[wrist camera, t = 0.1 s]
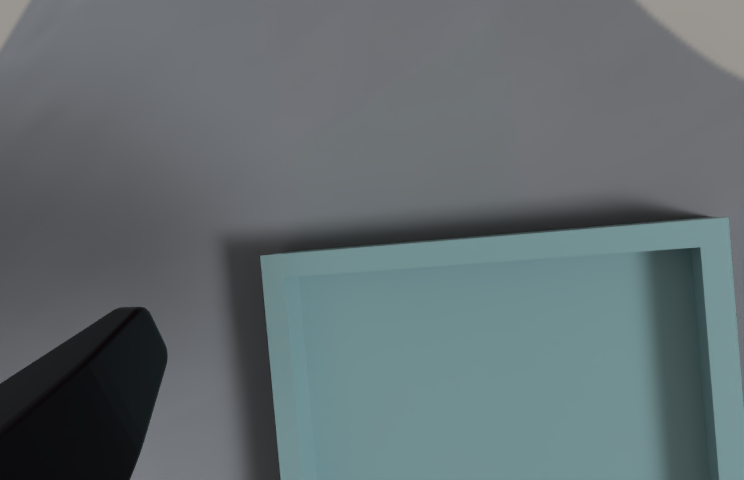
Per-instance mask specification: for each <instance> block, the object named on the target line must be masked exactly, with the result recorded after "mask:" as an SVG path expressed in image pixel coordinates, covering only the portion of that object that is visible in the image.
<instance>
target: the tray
mask: <svg viewBox="0 0 744 480" xmlns="http://www.w3.org/2000/svg"><path fill="white" fill-rule="evenodd" d="M260 260H261V271H262V282H263V293H264V304H265V315H266V325H267V336H268V347H269V358H270V369H271V380H272V391H273V401H274V412H275V423H276V434H277V445H278V456H279V467H280V478H281V480H744V407H743V394H742V382H741V369H740V357H739V344H738V332H737V319H736V307H735V294H734V282H733V269H732V257H731V244H730V232H729V219H728V217H703V218H691V219H679V220H667V221H655V222H643V223H630V224H618V225H606V226H594V227H582V228H570V229H558V230H546V231H534V232H522V233H509V234H497V235H485V236H473V237H461V238H449V239H437V240H425V241H413V242H401V243H388V244H376V245H364V246H352V247H340V248H328V249H316V250H304V251H292V252H282V253H275V254H268V255H262V256H260Z"/></svg>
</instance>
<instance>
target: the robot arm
mask: <svg viewBox="0 0 744 480" xmlns="http://www.w3.org/2000/svg"><path fill="white" fill-rule="evenodd" d="M166 364H167V349H166V345H165V343H164V341H163V339H162V337H161V335H160V333H159V331H158V328H157V326H156V324H155V322H154V320H153V318H152V316H151V314H150V312H149V311H148V310H147V309H145V308H143V307H121V308H117V309H115V310H113V311H112V312H110V313H109V314H107V315H106V316H104V317H103V318H101V319H99V320H98V321H96V322H95V323H93V324H92V325H90V326H89V327H87V328H86V329H84V330H83V331H81V332H79V333H78V334H76V335H75V336H73V337H72V338H70V339H69V340H67V341H66V342H64V343H62V344H61V345H59V346H58V347H56V348H55V349H53V350H52V351H50V352H49V353H47V354H45V355H44V356H42V357H41V358H39V359H38V360H36V361H35V362H33V363H32V364H30V365H29V366H27V367H25V368H24V369H22V370H21V371H19V372H18V373H16V374H15V375H13V376H12V377H10V378H8V379H7V380H5V381H4V382H2V383H1V384H0V480H130V478H131V476H132V473H133V471H134V468H135V466H136V463H137V460H138V458H139V455H140V452H141V449H142V446H143V443H144V440H145V436H146V433H147V430H148V426H149V423H150V419H151V416H152V412H153V409H154V406H155V402H156V399H157V395H158V392H159V388H160V385H161V382H162V378H163V375H164V371H165V368H166Z"/></svg>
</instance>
